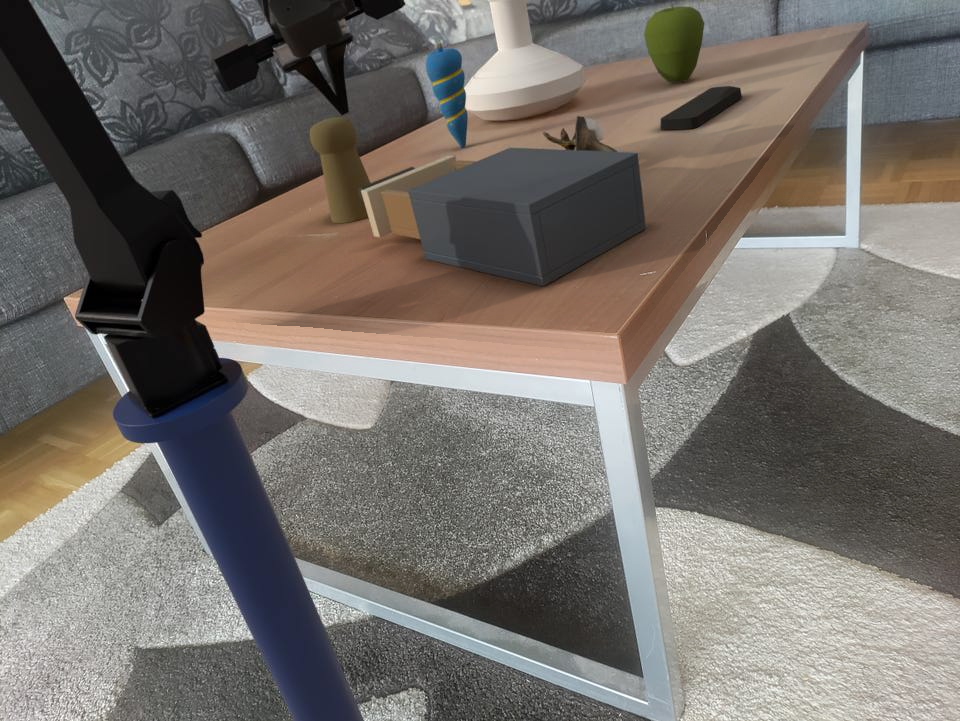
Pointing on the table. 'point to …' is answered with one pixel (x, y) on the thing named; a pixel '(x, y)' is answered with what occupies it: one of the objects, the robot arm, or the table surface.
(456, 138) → the ornament
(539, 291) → the table surface
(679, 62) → the apple
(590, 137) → the eagle figurine
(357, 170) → the cork
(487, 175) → the cabinet
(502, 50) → the candle holder
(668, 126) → the remote control
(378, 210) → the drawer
